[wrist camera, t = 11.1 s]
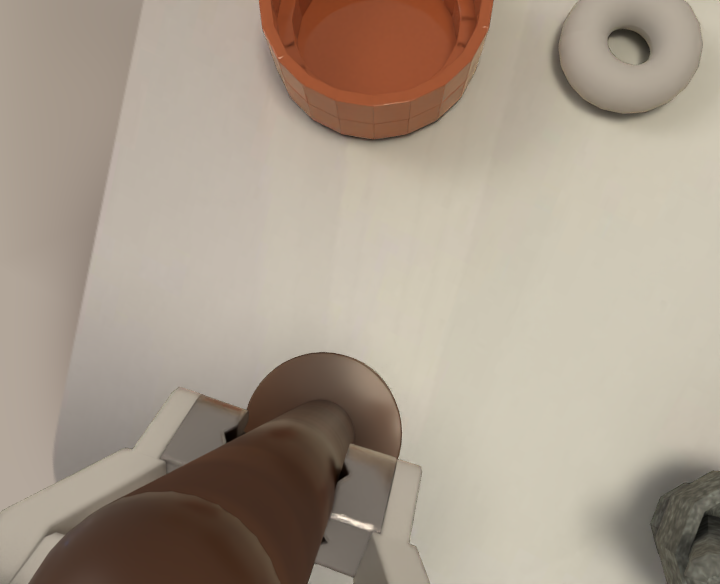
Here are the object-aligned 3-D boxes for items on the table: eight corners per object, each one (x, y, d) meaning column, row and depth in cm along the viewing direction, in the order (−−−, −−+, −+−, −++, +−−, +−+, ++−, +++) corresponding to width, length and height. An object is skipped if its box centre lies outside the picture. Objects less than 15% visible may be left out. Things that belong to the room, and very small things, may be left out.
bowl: (288, 155, 43) (273, 121, 37) (265, -32, 45) (247, -93, 39) (493, 125, 43) (511, 86, 37) (460, -62, 45) (473, -127, 39)
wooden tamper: (265, 506, 20) (-299, 1214, 3) (251, 363, 21) (-283, 359, 4) (408, 488, 20) (555, 1123, 3) (389, 344, 21) (429, 262, 4)
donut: (702, 105, 42) (665, -17, 43) (731, 83, 39) (689, -49, 40) (571, 135, 42) (537, 13, 44) (588, 116, 39) (551, -16, 40)
